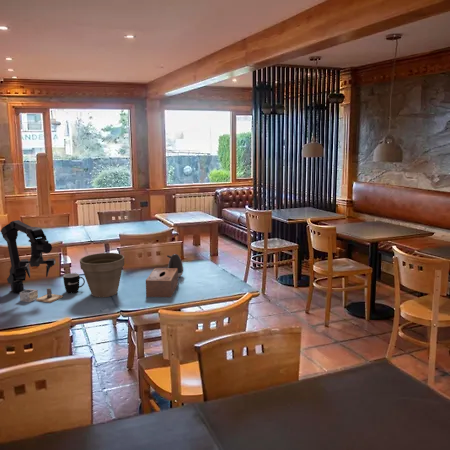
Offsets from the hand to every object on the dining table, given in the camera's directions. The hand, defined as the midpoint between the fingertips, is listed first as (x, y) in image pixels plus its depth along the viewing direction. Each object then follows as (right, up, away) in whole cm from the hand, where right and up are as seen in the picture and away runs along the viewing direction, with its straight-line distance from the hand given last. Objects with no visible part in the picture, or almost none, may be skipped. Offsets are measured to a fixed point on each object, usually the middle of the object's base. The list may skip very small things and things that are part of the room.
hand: (38, 277), depth 274 cm
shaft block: (+6, -12, +1) cm, 14 cm away
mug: (+16, -10, +14) cm, 24 cm away
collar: (-5, -13, 0) cm, 14 cm away
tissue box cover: (+68, -10, +16) cm, 71 cm away
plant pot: (+35, -11, +10) cm, 38 cm away
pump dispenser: (+73, -4, +43) cm, 85 cm away
